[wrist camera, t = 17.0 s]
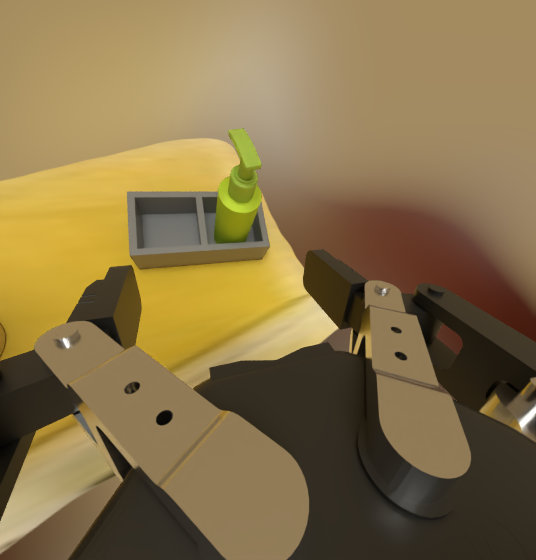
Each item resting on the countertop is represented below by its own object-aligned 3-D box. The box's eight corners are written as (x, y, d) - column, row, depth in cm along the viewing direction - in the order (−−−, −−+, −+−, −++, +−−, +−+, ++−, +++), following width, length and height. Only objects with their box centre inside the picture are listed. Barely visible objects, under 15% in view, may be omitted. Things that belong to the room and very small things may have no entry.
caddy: (139, 269, 40) (129, 255, 35) (136, 212, 43) (126, 191, 37) (261, 259, 47) (269, 246, 41) (252, 210, 49) (259, 191, 43)
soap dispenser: (237, 214, 47) (259, 122, 28) (250, 246, 46) (283, 172, 27) (207, 221, 45) (210, 128, 26) (220, 255, 44) (234, 182, 25)
